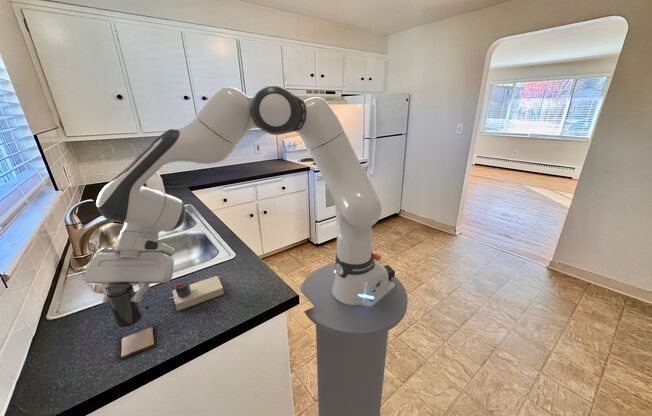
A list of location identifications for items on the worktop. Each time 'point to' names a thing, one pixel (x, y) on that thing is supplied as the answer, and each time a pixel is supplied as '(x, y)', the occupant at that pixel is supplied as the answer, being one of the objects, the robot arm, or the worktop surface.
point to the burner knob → (183, 289)
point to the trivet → (137, 342)
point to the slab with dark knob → (199, 293)
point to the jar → (123, 304)
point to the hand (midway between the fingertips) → (121, 302)
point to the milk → (155, 183)
